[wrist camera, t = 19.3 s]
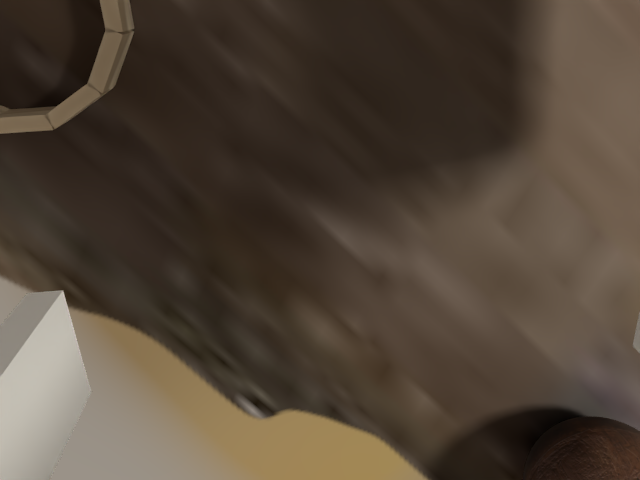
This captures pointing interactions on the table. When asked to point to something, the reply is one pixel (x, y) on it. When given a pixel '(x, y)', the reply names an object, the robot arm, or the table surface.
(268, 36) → the table surface
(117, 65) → the segmented wooden ring
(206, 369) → the table surface
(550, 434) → the wooden sphere
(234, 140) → the table surface
